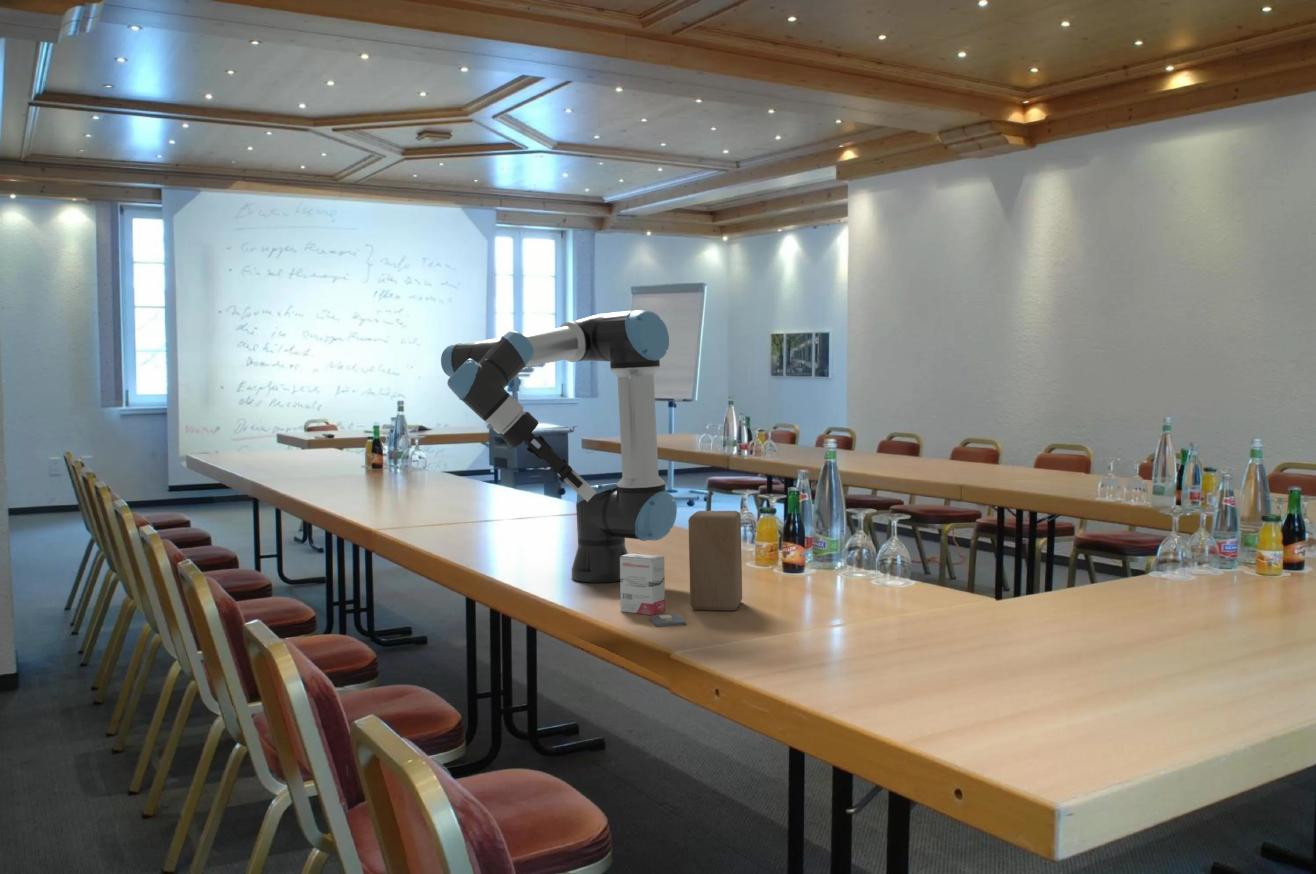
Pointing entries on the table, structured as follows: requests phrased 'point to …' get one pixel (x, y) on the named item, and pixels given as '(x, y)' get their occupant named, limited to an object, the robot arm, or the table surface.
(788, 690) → the table surface
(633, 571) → the ink box
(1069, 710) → the table surface
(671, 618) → the card
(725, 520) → the block
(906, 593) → the table surface
